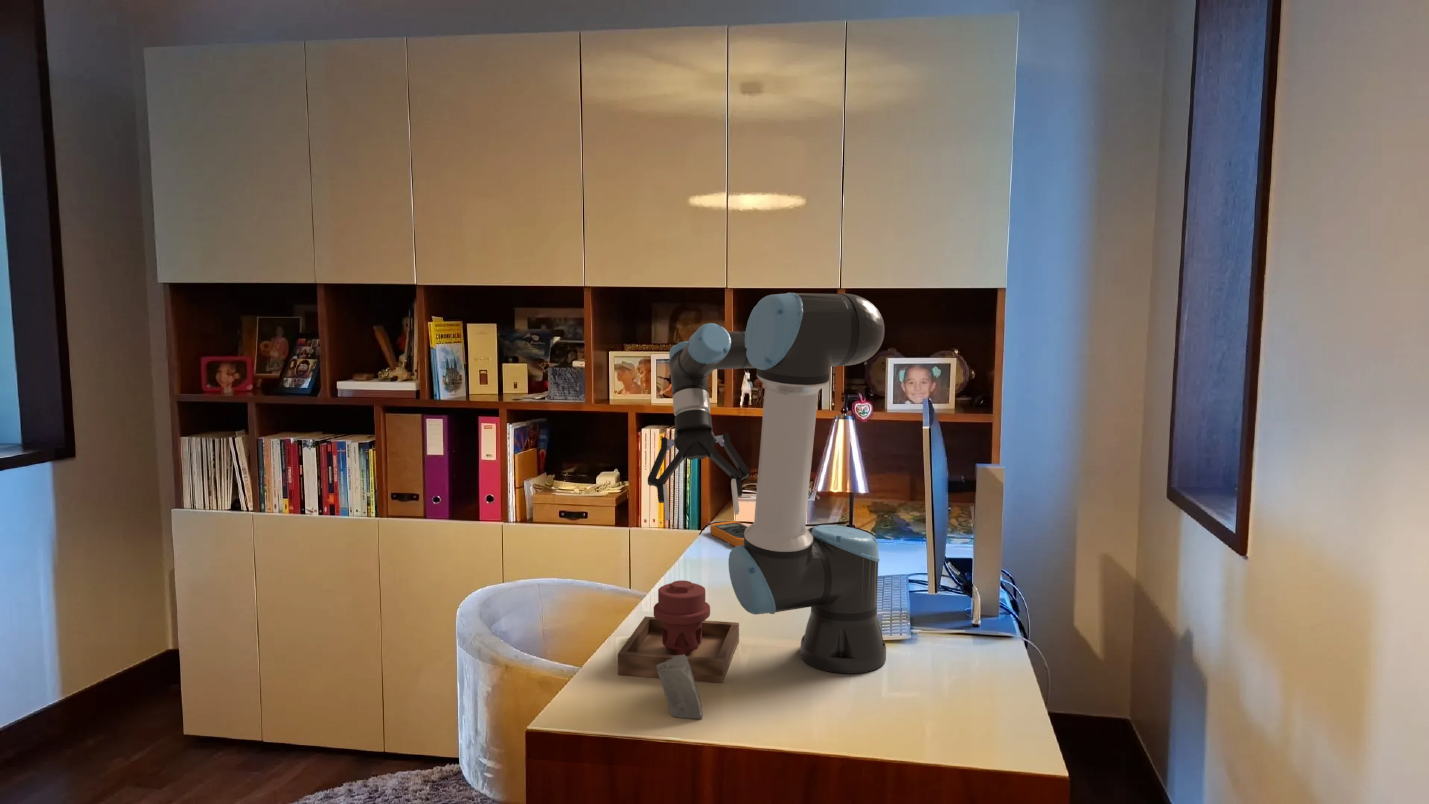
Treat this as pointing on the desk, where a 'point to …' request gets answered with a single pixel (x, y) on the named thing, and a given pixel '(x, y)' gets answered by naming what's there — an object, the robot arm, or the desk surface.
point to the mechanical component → (681, 615)
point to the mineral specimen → (680, 688)
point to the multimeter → (729, 532)
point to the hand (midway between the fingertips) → (702, 515)
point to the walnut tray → (704, 661)
